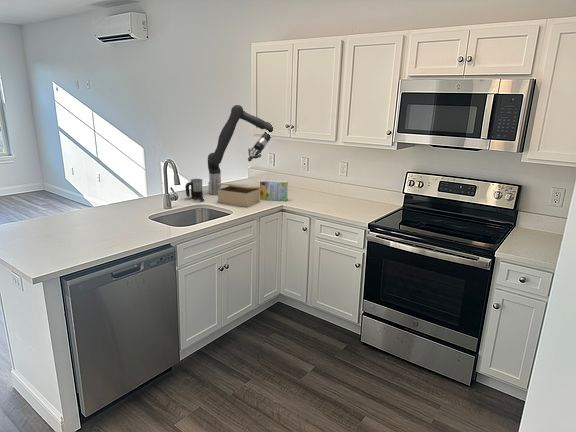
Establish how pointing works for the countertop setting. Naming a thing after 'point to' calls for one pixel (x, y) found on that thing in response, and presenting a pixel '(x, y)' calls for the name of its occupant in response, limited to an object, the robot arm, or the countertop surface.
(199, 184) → the milk frother
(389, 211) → the countertop surface
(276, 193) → the snack box
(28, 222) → the countertop surface
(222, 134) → the robot arm
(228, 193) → the carton
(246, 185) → the carton lid
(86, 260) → the countertop surface
